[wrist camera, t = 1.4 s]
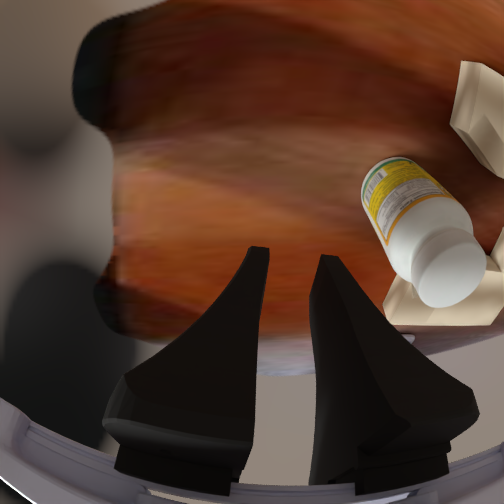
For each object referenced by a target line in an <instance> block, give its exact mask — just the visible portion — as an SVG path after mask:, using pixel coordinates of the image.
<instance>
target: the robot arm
mask: <svg viewBox="0 0 504 504" xmlns="http://www.w3.org/2000/svg"><path fill="white" fill-rule="evenodd" d="M268 266H269V248H265V247H256V246H251V247H250V248H248V251H247V254H246V256H245V258H244V260H243V262H242V264H241V266H240V267H239V269H238V271H237V272H236V274H235V275H234V277H233V278H232V280H231V281H230V283H229V284H228V285H227V287H226V288H225V289H224V290H223V292H222V293H221V294H220V296H219V297H218V298H217V299H216V300H215V302H214V303H213V304H212V305H211V306H210V307H209V308H208V309H207V311H206V312H205V313H204V314H203V315H202V316H201V317H200V318H199V319H198V320H197V321H196V322H194V323H193V324H192V325H191V326H190V327H189V328H188V329H187V330H186V331H185V332H184V333H182V334H181V335H180V336H179V337H178V338H176V339H175V340H174V341H172V342H171V343H170V344H169V345H167V346H166V347H165V348H163V349H162V350H161V351H159V352H158V353H157V354H155V355H154V356H153V357H151V358H149V359H148V360H146V361H144V362H143V363H141V364H140V365H138V366H136V367H135V368H134V369H132V370H130V371H128V372H127V373H125V374H123V376H122V378H121V379H120V381H119V382H118V384H117V386H116V388H115V390H114V392H113V393H112V395H111V398H110V400H109V403H108V405H107V408H106V412H105V415H104V418H103V421H102V424H103V426H104V428H105V429H106V430H107V432H108V433H109V434H110V435H111V436H112V437H113V438H114V439H115V440H116V441H117V442H118V443H119V444H120V447H119V450H118V454H117V457H114V456H111V455H108V454H106V453H103V452H100V451H97V450H95V449H92V448H89V447H87V446H84V445H82V444H79V443H77V442H75V441H72V440H70V439H67V438H66V437H63V436H61V435H59V434H57V433H55V432H53V431H51V430H48V429H46V428H44V427H42V426H40V425H39V424H37V423H35V422H33V421H31V420H30V419H29V418H28V417H27V416H26V415H25V414H24V413H23V412H21V411H20V410H19V409H17V408H16V407H14V406H13V405H11V404H9V403H7V402H6V401H5V400H3V399H1V398H0V478H1V479H2V480H3V481H4V482H6V483H7V484H8V485H9V486H11V487H12V488H13V489H15V490H16V491H17V492H18V493H20V494H21V495H22V496H24V497H25V498H26V499H28V500H30V501H31V502H32V503H34V504H187V503H182V502H178V501H174V500H170V499H166V498H162V497H158V496H155V495H151V493H150V491H149V490H148V489H150V490H154V491H158V492H162V493H166V494H171V495H176V496H180V497H185V498H190V499H196V500H202V501H209V502H215V503H222V504H504V442H502V443H501V444H500V445H498V446H495V447H493V448H491V449H488V450H486V451H483V452H481V453H478V454H475V455H473V456H470V457H467V458H464V459H461V460H458V461H455V462H451V463H448V460H447V454H446V453H448V452H450V451H451V445H450V441H451V440H452V439H454V438H455V437H457V436H458V435H460V434H461V433H462V432H464V431H465V430H467V429H468V428H469V427H471V426H472V425H473V424H474V423H475V422H476V421H477V419H478V417H479V415H480V413H479V410H478V406H477V403H476V399H475V396H474V393H473V390H472V389H471V388H469V387H468V386H466V385H465V384H463V383H461V382H460V381H459V380H457V379H455V378H454V377H452V376H451V375H449V374H448V373H446V372H445V371H444V370H442V369H441V368H440V367H438V366H437V365H436V364H434V363H433V362H432V361H431V360H429V359H428V358H427V357H426V356H424V355H423V354H422V353H421V352H420V351H419V350H418V349H416V348H415V347H414V346H413V345H412V342H413V341H414V340H415V336H414V335H408V334H400V333H399V332H398V331H397V329H396V328H395V327H394V326H393V325H392V324H391V323H390V322H389V321H388V320H387V319H386V318H385V317H384V316H383V314H382V313H381V312H380V311H379V310H378V308H377V307H376V306H375V305H374V304H373V302H372V301H371V300H370V299H369V297H368V296H367V295H366V294H365V292H364V291H363V290H362V288H361V287H360V286H359V284H358V283H357V282H356V280H355V279H354V278H353V276H352V275H351V273H350V272H349V271H348V269H347V268H346V267H345V265H344V264H343V263H342V261H341V260H340V259H339V257H338V256H332V255H324V254H321V257H320V261H319V265H318V268H317V272H316V275H315V279H314V282H313V285H312V289H311V292H310V295H309V320H310V329H311V337H312V345H313V353H314V362H315V370H316V415H315V433H314V445H313V455H312V462H311V471H310V477H309V486H278V485H276V486H275V485H257V484H244V483H239V478H240V475H241V472H242V470H244V467H245V465H246V462H247V460H248V457H249V454H250V452H251V449H252V446H253V437H254V426H255V402H256V401H255V400H256V373H257V350H258V332H259V320H260V315H261V309H262V303H263V297H264V291H265V284H266V278H267V272H268Z"/></svg>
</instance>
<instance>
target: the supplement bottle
mask: <svg viewBox="0 0 504 504" xmlns="http://www.w3.org/2000/svg"><path fill="white" fill-rule="evenodd" d="M361 199H362V204H363V207H364V209H365V211H366V213H367V215H368V217H369V219H370V221H371V223H372V225H373V227H374V229H375V231H376V233H377V235H378V237H379V239H380V241H381V243H382V246H383V248H384V250H385V252H386V254H387V257H388V259H389V261H390V263H391V265H392V267H393V269H394V270H395V271H396V273H397V274H398V275H399V276H400V277H402V278H403V279H404V280H406V281H408V282H411V283H413V285H414V287H415V289H416V291H417V293H418V295H419V297H420V299H421V300H422V301H423V302H424V303H425V304H426V305H428V306H430V307H434V308H443V307H448V306H452V305H454V304H456V303H458V302H460V301H462V300H463V299H465V298H466V297H467V296H469V295H470V294H471V293H472V292H473V291H474V290H475V289H476V288H477V286H478V285H479V284H480V282H481V280H482V278H483V276H484V274H485V271H486V265H487V260H486V255H485V252H484V251H483V249H482V247H481V246H480V245H479V243H478V242H477V241H476V239H475V238H474V237H473V226H472V222H471V219H470V217H469V215H468V213H467V211H466V210H465V209H464V208H463V206H462V205H461V204H460V203H459V202H458V201H457V200H456V199H455V198H454V197H453V196H452V195H451V194H450V193H449V192H448V191H447V190H446V189H445V188H444V187H443V186H441V185H440V184H439V183H438V182H437V181H436V180H435V179H434V178H433V177H432V176H430V175H429V174H428V173H427V172H426V171H425V170H424V169H422V168H421V167H420V166H419V165H417V164H416V163H415V162H413V161H412V160H410V159H407V158H404V157H392V158H388V159H385V160H383V161H381V162H379V163H377V164H376V165H375V166H374V167H373V168H372V169H371V170H370V171H369V172H368V174H367V175H366V177H365V179H364V182H363V184H362V189H361Z"/></svg>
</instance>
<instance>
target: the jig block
mask: <svg viewBox="0 0 504 504" xmlns="http://www.w3.org/2000/svg"><path fill="white" fill-rule="evenodd" d="M450 125H451V126H452V128H453V129H454V130H455V131H456V132H457V134H458V135H459V136H460V137H461V139H462V140H463V141H464V142H465V144H466V145H467V146H468V148H469V149H470V150H471V152H472V153H473V154H474V156H475V157H476V158H477V160H478V161H479V163H480V164H481V165H483V166H484V167H486V168H487V169H489V170H490V171H491V172H493V173H494V174H495V175H497V176H498V177H501V178H503V179H504V77H503V76H501V75H500V74H498V73H497V72H495V71H494V70H492V69H490V68H489V67H487V66H485V65H484V64H482V63H475V62H467V61H461V67H460V74H459V80H458V86H457V91H456V96H455V101H454V106H453V111H452V115H451V120H450ZM486 260H487V265H486V271H485V274H484V276H483V278H482V280H481V282H480V284H479V285H478V286H477V288H476V289H475V290H474V291H473V292H472V293H471V294H470V295H469V296H467V297H466V298H465V299H463V300H462V301H460V302H458V303H456V304H454V305H452V306H448V307H443V308H434V307H430V306H428V305H426V304H425V303H424V302H423V301H422V300H421V299H420V297H419V295H418V293H417V291H416V289H415V287H414V285H413V283H411V282H408V281H406V280H404V279H403V278H402V277H400V276H399V275H398V274H397V275H396V277H395V279H394V281H393V284H392V286H391V288H390V290H389V292H388V294H387V296H386V298H385V300H384V302H383V304H382V305H383V308H384V311H385V314H386V318H387V320H388V321H389V322H390V323H391V324H394V325H431V326H475V325H490V324H491V323H492V322H493V320H494V319H495V318H496V316H497V315H498V313H499V312H500V311H501V309H502V308H503V306H504V227H503V230H502V232H501V234H500V236H499V238H498V240H497V242H496V244H495V246H494V248H493V250H492V252H491V254H490V256H487V255H486Z"/></svg>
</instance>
